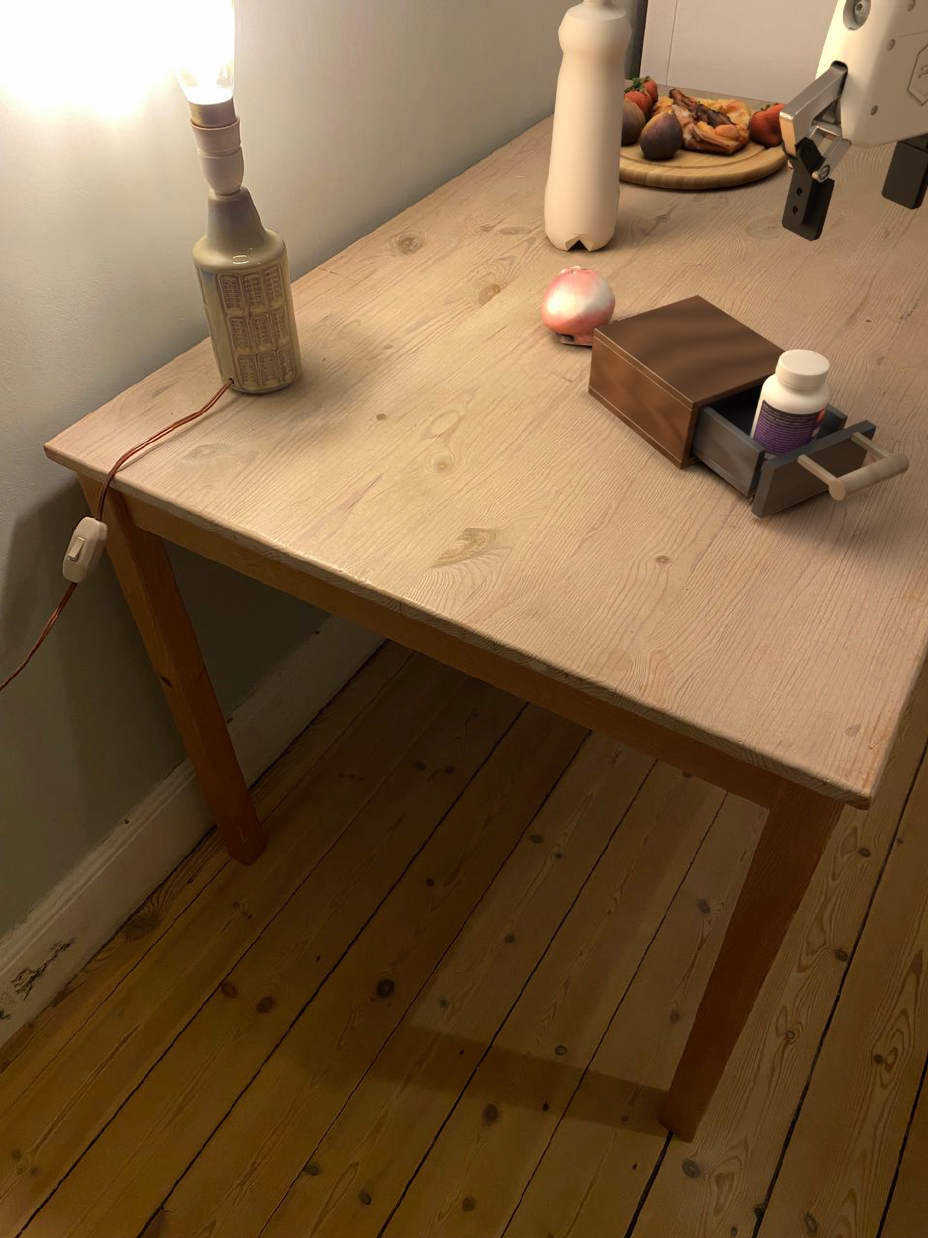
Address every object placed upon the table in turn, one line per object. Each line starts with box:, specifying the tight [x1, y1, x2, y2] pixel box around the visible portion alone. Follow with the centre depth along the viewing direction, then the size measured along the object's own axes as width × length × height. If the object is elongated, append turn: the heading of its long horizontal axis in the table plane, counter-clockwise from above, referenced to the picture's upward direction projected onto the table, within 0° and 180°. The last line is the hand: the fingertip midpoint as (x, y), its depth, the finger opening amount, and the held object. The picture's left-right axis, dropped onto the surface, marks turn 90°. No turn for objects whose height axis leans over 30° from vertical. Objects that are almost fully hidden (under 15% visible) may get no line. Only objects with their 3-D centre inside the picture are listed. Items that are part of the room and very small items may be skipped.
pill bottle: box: [750, 348, 831, 472], centre depth 77 cm, size 5×5×10 cm
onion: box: [540, 265, 618, 347], centre depth 97 cm, size 8×8×7 cm
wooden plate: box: [619, 75, 788, 190], centre depth 132 cm, size 32×32×8 cm
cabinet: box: [587, 294, 787, 470], centre depth 87 cm, size 15×13×7 cm
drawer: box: [690, 383, 910, 520], centre depth 79 cm, size 19×11×6 cm, turn 30°
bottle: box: [543, 0, 633, 252], centre depth 104 cm, size 9×9×30 cm
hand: (851, 217), depth 65 cm, fingers open, 9 cm apart
